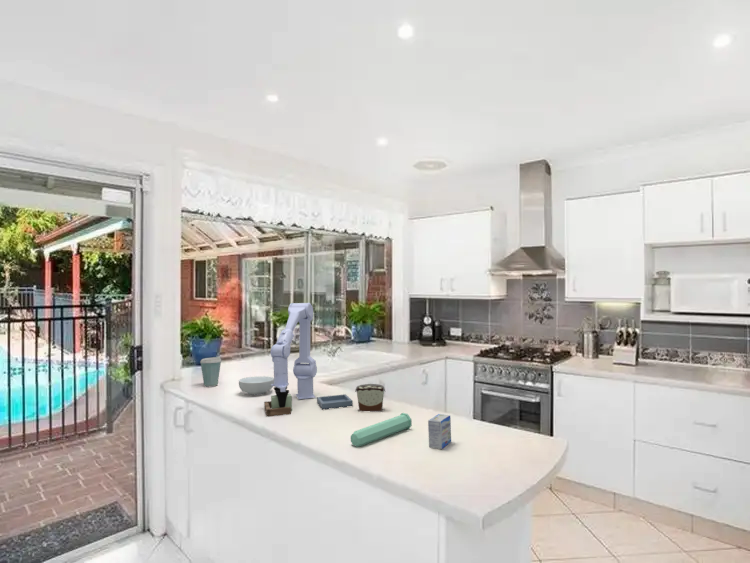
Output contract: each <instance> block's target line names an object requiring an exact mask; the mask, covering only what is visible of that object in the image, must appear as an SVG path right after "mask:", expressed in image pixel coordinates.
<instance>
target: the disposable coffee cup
mask: <svg viewBox="0 0 750 563" xmlns="http://www.w3.org/2000/svg"><path fill="white" fill-rule="evenodd" d="M199 363H200V368H201V375H202V381H203V385H204V387H205V388H207V387H208V388H210V387H211V388H212V387H217V386H218V383H219V377H220V371H221V363H222V358H221V356H216V357H215V356H214V357H205V358H202V359H201V360H200V362H199Z"/></svg>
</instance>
